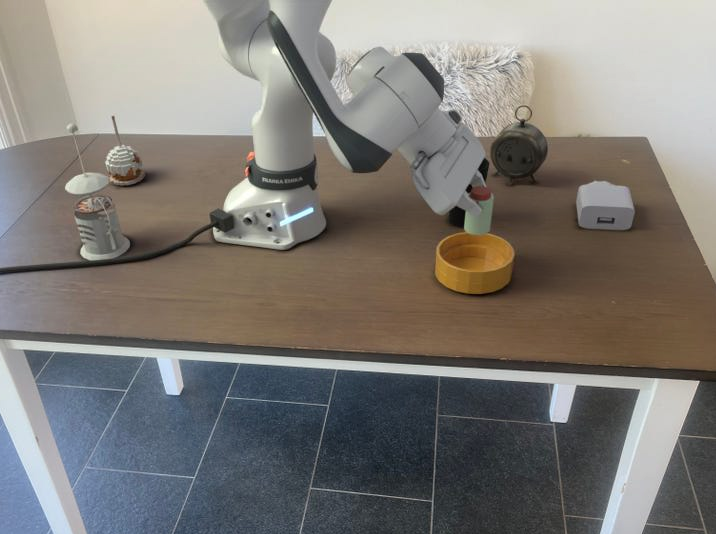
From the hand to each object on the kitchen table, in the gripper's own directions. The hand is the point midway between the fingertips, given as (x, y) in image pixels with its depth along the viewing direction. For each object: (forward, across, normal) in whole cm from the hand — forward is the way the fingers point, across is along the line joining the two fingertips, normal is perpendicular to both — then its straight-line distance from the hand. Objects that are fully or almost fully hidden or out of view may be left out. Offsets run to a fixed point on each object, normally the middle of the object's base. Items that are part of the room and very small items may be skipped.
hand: (483, 205), depth 116 cm
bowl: (+9, 0, +10) cm, 14 cm away
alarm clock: (+9, +38, +11) cm, 41 cm away
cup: (+5, +19, +15) cm, 24 cm away
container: (+3, 0, +4) cm, 4 cm away
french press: (-39, -13, +59) cm, 72 cm away
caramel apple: (-49, +14, +69) cm, 86 cm away
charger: (+22, +31, -2) cm, 38 cm away
